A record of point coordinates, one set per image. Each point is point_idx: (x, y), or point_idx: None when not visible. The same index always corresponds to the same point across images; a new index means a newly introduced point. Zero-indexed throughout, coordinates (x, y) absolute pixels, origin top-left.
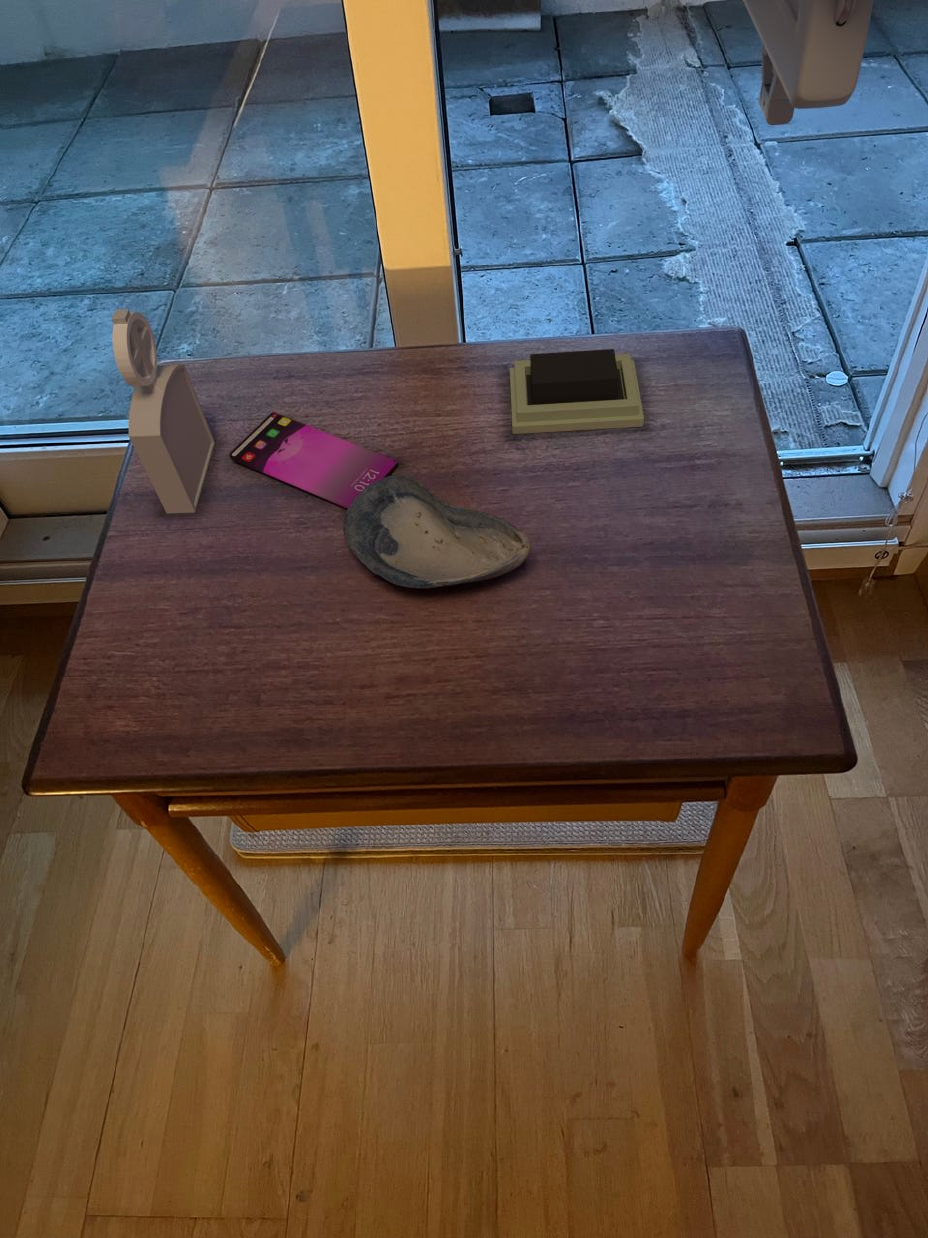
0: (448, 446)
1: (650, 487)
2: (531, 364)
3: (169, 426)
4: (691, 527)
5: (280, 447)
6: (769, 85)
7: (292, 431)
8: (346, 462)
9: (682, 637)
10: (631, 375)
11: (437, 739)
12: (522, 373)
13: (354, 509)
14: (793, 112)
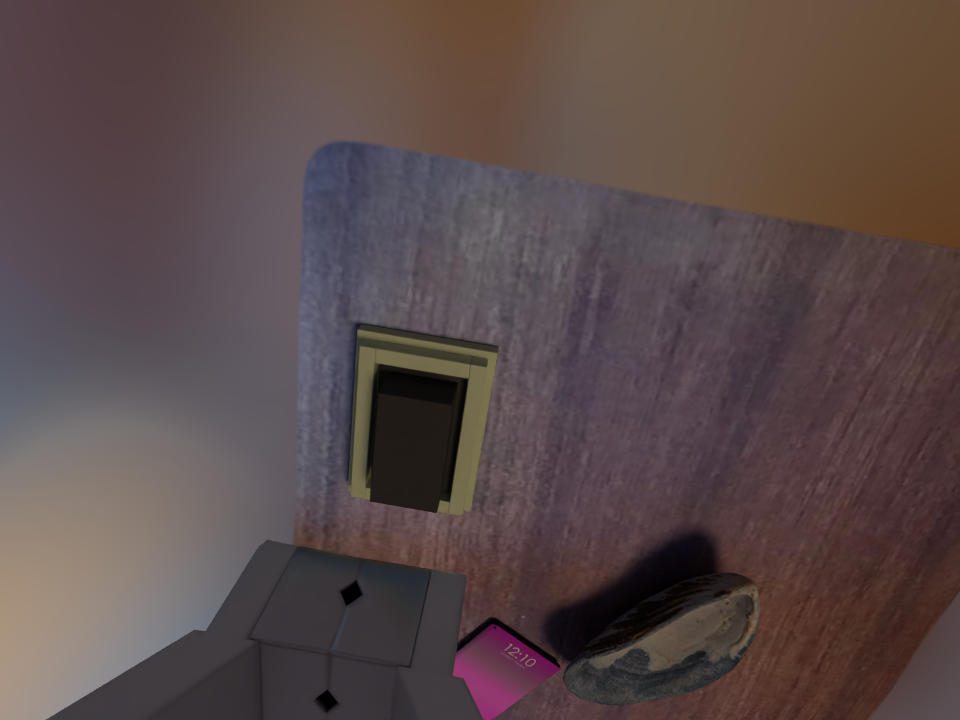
0: (475, 568)
1: (623, 371)
2: (394, 505)
3: None
4: (717, 343)
5: None
6: (270, 716)
7: None
8: (486, 667)
9: (890, 409)
10: (414, 358)
11: (887, 646)
12: None
13: (592, 696)
14: (462, 603)
